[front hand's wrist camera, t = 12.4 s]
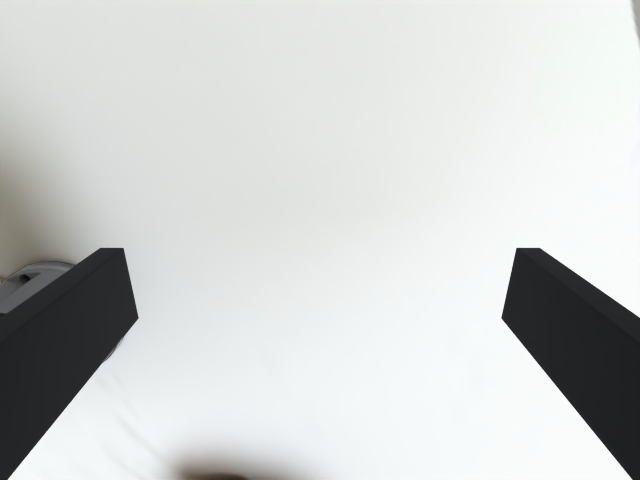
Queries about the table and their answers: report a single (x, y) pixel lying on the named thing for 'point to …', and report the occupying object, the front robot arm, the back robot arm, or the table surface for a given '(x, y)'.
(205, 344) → the table surface
